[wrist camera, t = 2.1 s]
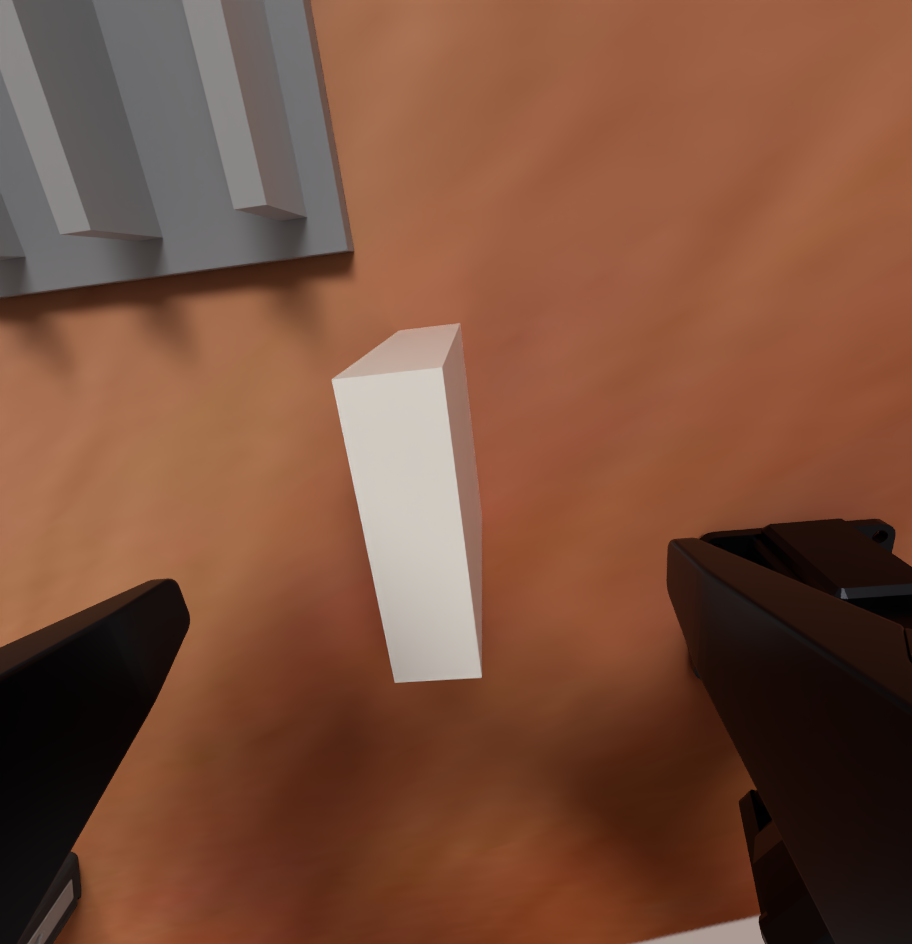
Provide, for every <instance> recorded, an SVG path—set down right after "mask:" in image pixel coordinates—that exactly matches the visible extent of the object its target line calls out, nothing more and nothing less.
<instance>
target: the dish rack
mask: <svg viewBox="0 0 912 944" xmlns="http://www.w3.org/2000/svg"><path fill="white" fill-rule="evenodd" d="M352 251H354V248H353V242H352V236H351V231H350V225H349V219H348V214H347V208H346V202H345V197H344V191H343V185H342V180H341V174H340V168H339V162H338V157H337V151H336V145H335V140H334V134H333V128H332V123H331V117H330V111H329V106H328V100H327V94H326V89H325V83H324V77H323V71H322V66H321V60H320V54H319V49H318V43H317V37H316V32H315V26H314V20H313V15H312V9H311V3H310V0H0V298H8V297H15V296H23V295H30V294H38V293H45V292H53V291H60V290H68V289H75V288H83V287H90V286H98V285H105V284H113V283H120V282H128V281H135V280H143V279H150V278H158V277H165V276H172V275H180V274H187V273H195V272H202V271H210V270H217V269H225V268H232V267H240V266H247V265H255V264H262V263H270V262H277V261H285V260H292V259H300V258H307V257H315V256H322V255H330V254H337V253H344V252H352Z"/></svg>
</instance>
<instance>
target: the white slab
mask: <svg viewBox="0 0 912 944" xmlns="http://www.w3.org/2000/svg"><path fill="white" fill-rule="evenodd" d="M332 383H333V388H334V393H335V398H336V402H337V407H338V412H339V417H340V422H341V426H342V431H343V436H344V441H345V446H346V451H347V455H348V460H349V465H350V470H351V475H352V479H353V484H354V489H355V494H356V499H357V503H358V508H359V513H360V518H361V523H362V527H363V532H364V537H365V542H366V547H367V551H368V556H369V561H370V566H371V571H372V576H373V580H374V585H375V590H376V595H377V600H378V604H379V609H380V614H381V619H382V624H383V628H384V633H385V638H386V643H387V648H388V652H389V657H390V662H391V667H392V672H393V676H394V681H395V683H398V682H416V681H433V680H451V679H468V678H482V513H481V504H480V495H479V486H478V477H477V468H476V459H475V450H474V442H473V433H472V424H471V415H470V406H469V397H468V388H467V379H466V370H465V361H464V352H463V343H462V334H461V325H460V323H458V324H449V325H441V326H433V327H424V328H416V329H407V330H399V331H398V332H396V333H395V334H394V335H392V336H391V337H390V338H388V339H387V340H385V341H384V342H383V343H381V344H380V345H379V346H377V347H376V348H374V349H373V350H372V351H370V352H369V353H368V354H366V355H365V356H363V357H362V358H361V359H359V360H358V361H357V362H355V363H354V364H352V365H351V366H350V367H348V368H347V369H346V370H344V371H343V372H342V373H340V374H339V375H337V376H336V377H335V378H333V379H332Z"/></svg>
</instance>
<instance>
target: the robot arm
mask: <svg viewBox="0 0 912 944" xmlns="http://www.w3.org/2000/svg"><path fill="white" fill-rule="evenodd" d="M877 531H879V533H878V535H876V536H875V537H873V535H874V534H875V533H876V532H877ZM894 540H895V530H894V528H893V527H892V526H890V525H889V524H887V523H885V522H884V521H882V520H880V519H867V520H855V521H844V520H842V519H829V520H816V521H804V522H792V523H779V524H769V525H767V526H765V527H763V528H756V529H744V530H732V531H719V532H711V533H707V534H706V535H704V536H702V538H701V539H700V540H699V539H697V538H682V539H673V540H671V541H670V542H669V545H668V555H667V589H668V593H669V597H670V599H671V602H672V605H673V607H674V610H675V613H676V616H677V618H678V621H679V624H680V627H681V629H682V632H683V635H684V637H685V640H686V643H687V646H688V648H689V651H690V654H691V668H692V670H693V671H694V673H695V675H696V676H697V677H698V678H699V679H701V680H702V682H703V684H704V686H705V688H706V690H707V692H708V694H709V696H710V698H711V700H712V702H713V704H714V706H715V708H716V710H717V712H718V714H719V716H720V718H721V720H722V722H723V724H724V726H725V728H726V730H727V732H728V733H729V735H730V737H731V739H732V741H733V743H734V745H735V747H736V749H737V751H738V753H739V755H740V757H741V759H742V761H743V763H744V765H745V767H746V769H747V771H748V773H749V775H750V777H751V779H752V781H753V783H754V785H755V786H756V788H757V790H756V791H755V790H750V791H749V792H748V793H747V794H746V795H745V796H744V797H743V798H742V799H741V800H740V801H739V807H740V812H741V817H742V822H743V827H744V832H745V837H746V842H747V847H748V852H749V857H750V862H751V867H752V872H753V877H754V882H755V887H756V892H757V897H758V902H759V907H760V912H761V915H760V916H759V926H760V930H761V934H762V938H763V940H764V942H765V944H912V567H911V566H910V565H908V564H907V563H905V562H904V561H902V560H901V559H899V558H898V557H896V556H895V555H894V554H892V549H893V544H894ZM717 543H718V544H719V546H718V547H716V546H713V544H717ZM189 625H190V615H189V612H188V609H187V606H186V604H185V601H184V598H183V595H182V593H181V590H180V587H179V585H178V583H177V582H176V581H175V580H173V579H156V580H150V581H147V582H145V583H143V584H141V585H138V586H136V587H134V588H132V589H129V590H127V591H125V592H123V593H121V594H118V595H116V596H114V597H112V598H109V599H107V600H105V601H103V602H101V603H98V604H96V605H94V606H92V607H89V608H87V609H85V610H83V611H80V612H78V613H76V614H74V615H72V616H69V617H67V618H65V619H63V620H60V621H58V622H56V623H54V624H52V625H49V626H47V627H45V628H43V629H40V630H38V631H36V632H34V633H32V634H29V635H27V636H25V637H23V638H20V639H18V640H16V641H14V642H11V643H9V644H7V645H5V646H3V647H0V944H18V942H19V941H20V939H21V937H22V935H23V934H24V932H25V930H26V928H27V927H28V925H29V923H30V921H31V920H32V918H33V916H34V914H35V913H36V911H37V909H38V907H39V906H40V904H41V902H42V900H43V899H44V897H45V895H46V893H47V892H48V890H49V888H50V886H51V884H52V883H53V881H54V879H55V877H56V876H57V874H58V872H59V870H60V869H61V867H62V865H63V863H64V862H65V860H66V858H67V856H68V855H69V853H70V851H71V849H72V848H73V846H74V844H75V842H76V841H77V839H78V837H79V835H80V834H81V832H82V830H83V828H84V827H85V825H86V823H87V821H88V819H89V818H90V816H91V814H92V812H93V811H94V809H95V807H96V805H97V804H98V802H99V800H100V798H101V797H102V795H103V793H104V791H105V790H106V788H107V786H108V784H109V783H110V781H111V779H112V777H113V776H114V774H115V772H116V770H117V769H118V767H119V765H120V763H121V761H122V760H123V758H124V756H125V754H126V753H127V751H128V749H129V747H130V746H131V744H132V742H133V740H134V739H135V737H136V735H137V733H138V732H139V730H140V728H141V726H142V725H143V723H144V721H145V719H146V718H147V716H148V714H149V712H150V710H151V708H152V707H153V705H154V703H155V701H156V699H157V697H158V695H159V693H160V691H161V688H162V686H163V684H164V682H165V680H166V677H167V675H168V673H169V671H170V669H171V666H172V664H173V662H174V660H175V657H176V655H177V653H178V651H179V649H180V646H181V644H182V642H183V640H184V638H185V635H186V633H187V631H188V628H189Z"/></svg>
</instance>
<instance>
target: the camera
mask: <svg viewBox="0 0 912 944" xmlns="http://www.w3.org/2000/svg"><path fill="white" fill-rule="evenodd" d="M80 897H81V884H80V873H79V865H78V857H77V855H76V854H75V853H73V852H70V853H69V855H68V856H67V858H66V860H65V862H64V863H63V865H62V867H61V869H60V870H59V872H58V874H57V876H56V877H55V879H54V881H53V883H52V884H51V886H50V888H49V890H48V892H47V893H46V895H45V897H44V899H43V900H42V902H41V904H40V906H39V907H38V909H37V911H36V913H35V914H34V916H33V918H32V920H31V921H30V923H29V925H28V927H27V928H26V930H25V932H24V934H23V935H22V937H21V939H20V941H19V942H18V944H53V943H54V941H55V939H56V938H57V936H58V935H59V933H60V932H61V930H62V929H63V927H64V925H65V924H66V922H67V921H68V919H69V918H70V916H71V914H72V913H73V911H74V910H75V908H76V906H77V899H79V898H80Z"/></svg>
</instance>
